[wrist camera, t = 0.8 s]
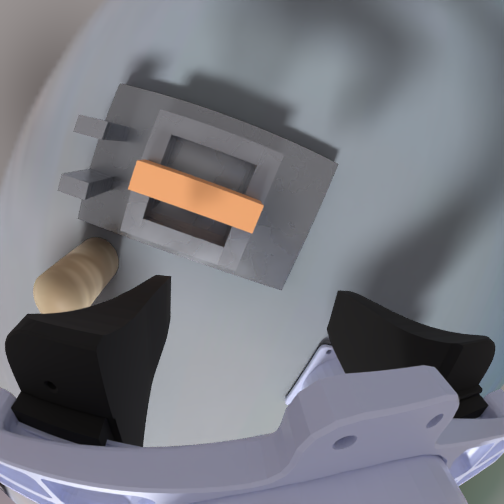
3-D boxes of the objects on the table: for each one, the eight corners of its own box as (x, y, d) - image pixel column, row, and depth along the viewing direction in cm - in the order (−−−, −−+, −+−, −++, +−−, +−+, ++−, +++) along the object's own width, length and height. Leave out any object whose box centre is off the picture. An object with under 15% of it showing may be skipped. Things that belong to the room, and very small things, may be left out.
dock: (333, 163, 20) (364, 167, 15) (279, 284, 22) (293, 318, 18) (124, 86, 16) (97, 69, 12) (83, 215, 19) (50, 233, 14)
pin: (260, 200, 16) (263, 205, 15) (249, 226, 17) (252, 233, 15) (145, 159, 15) (137, 160, 13) (136, 185, 15) (127, 189, 14)
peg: (122, 246, 20) (84, 286, 14) (114, 286, 21) (79, 336, 15) (82, 230, 19) (34, 263, 13) (76, 271, 20) (33, 313, 14)
